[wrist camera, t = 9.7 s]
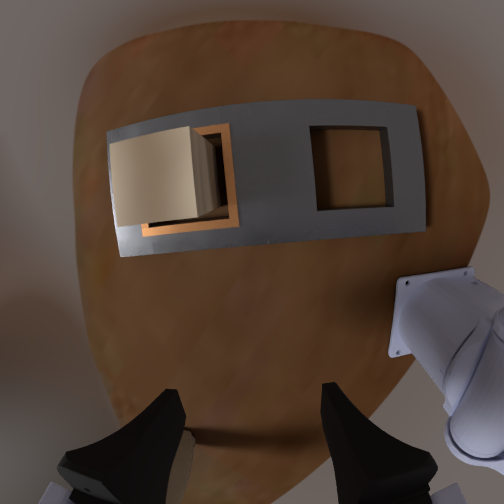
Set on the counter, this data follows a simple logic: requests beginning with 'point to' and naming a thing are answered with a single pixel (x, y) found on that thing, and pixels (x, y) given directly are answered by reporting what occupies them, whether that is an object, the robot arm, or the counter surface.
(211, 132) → the grey board with holes
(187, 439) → the handle
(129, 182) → the peg
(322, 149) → the counter surface
